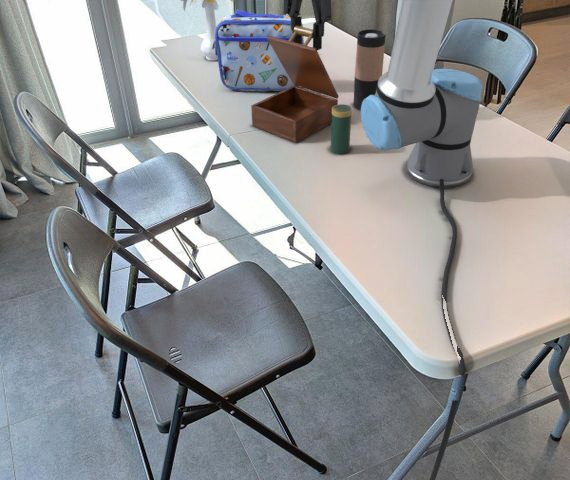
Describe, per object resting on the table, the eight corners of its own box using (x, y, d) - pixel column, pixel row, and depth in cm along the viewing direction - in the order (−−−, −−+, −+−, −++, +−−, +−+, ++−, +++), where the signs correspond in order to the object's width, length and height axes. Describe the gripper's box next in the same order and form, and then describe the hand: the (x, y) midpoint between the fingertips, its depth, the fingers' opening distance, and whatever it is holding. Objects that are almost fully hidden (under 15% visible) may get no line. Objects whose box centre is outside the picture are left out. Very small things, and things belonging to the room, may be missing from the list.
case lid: (314, 50, 132) (329, 28, 132) (266, 37, 140) (280, 16, 140) (337, 98, 148) (350, 78, 148) (293, 84, 156) (306, 65, 156)
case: (295, 143, 142) (295, 121, 138) (252, 126, 150) (251, 105, 146) (337, 119, 152) (338, 99, 148) (294, 105, 160) (294, 85, 156)
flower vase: (184, 55, 193) (172, -24, 176) (234, 49, 197) (228, -29, 180) (190, 68, 184) (179, -14, 167) (243, 61, 188) (237, -20, 171)
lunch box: (214, 93, 168) (205, 16, 153) (220, 80, 175) (213, 6, 161) (302, 94, 165) (303, 17, 150) (305, 81, 173) (305, 6, 158)
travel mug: (348, 108, 157) (352, 35, 144) (358, 98, 162) (363, 27, 149) (373, 113, 155) (380, 39, 141) (382, 103, 160) (390, 31, 146)
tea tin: (341, 156, 136) (343, 114, 129) (326, 150, 139) (327, 109, 131) (353, 149, 139) (356, 107, 132) (338, 143, 141) (339, 102, 134)
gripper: (350, -55, 123) (345, 50, 138) (287, -64, 132) (288, 36, 148) (330, -49, 119) (327, 59, 134) (266, -59, 128) (270, 43, 144)
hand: (307, 46), depth 141 cm, fingers closed on case lid, 6 cm apart
